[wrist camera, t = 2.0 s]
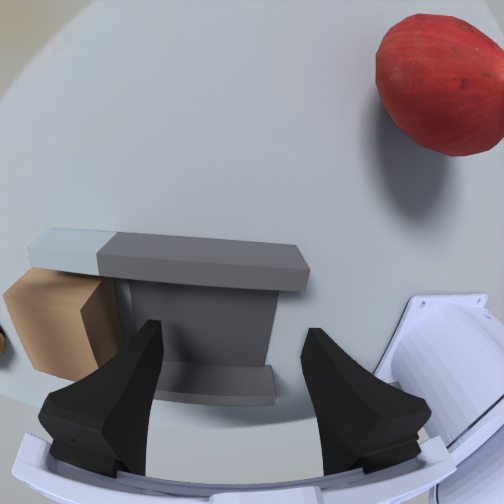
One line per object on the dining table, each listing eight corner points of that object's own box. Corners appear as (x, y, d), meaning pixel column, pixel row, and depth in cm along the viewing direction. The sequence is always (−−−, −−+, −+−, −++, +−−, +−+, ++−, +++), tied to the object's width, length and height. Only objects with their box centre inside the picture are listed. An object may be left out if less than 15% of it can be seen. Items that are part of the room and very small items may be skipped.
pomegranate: (345, 23, 9) (453, -49, 1) (437, 60, 9) (551, 49, 2) (340, 134, 11) (482, 148, 4) (433, 157, 11) (557, 196, 4)
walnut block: (112, 266, 13) (79, 310, 9) (125, 340, 15) (106, 389, 11) (41, 259, 12) (2, 294, 8) (60, 328, 14) (34, 369, 10)
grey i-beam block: (296, 245, 13) (310, 269, 11) (268, 375, 16) (273, 405, 14) (53, 228, 11) (27, 246, 9) (84, 355, 15) (71, 381, 13)
